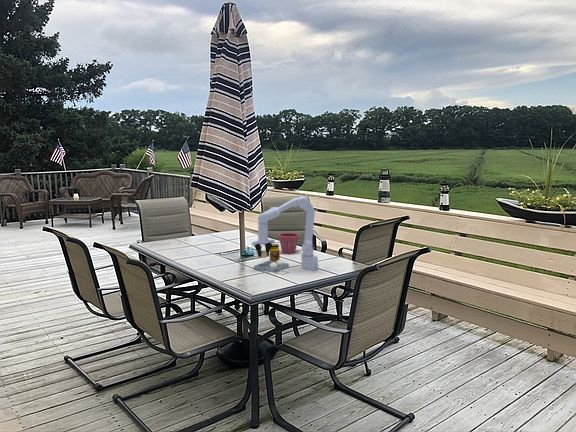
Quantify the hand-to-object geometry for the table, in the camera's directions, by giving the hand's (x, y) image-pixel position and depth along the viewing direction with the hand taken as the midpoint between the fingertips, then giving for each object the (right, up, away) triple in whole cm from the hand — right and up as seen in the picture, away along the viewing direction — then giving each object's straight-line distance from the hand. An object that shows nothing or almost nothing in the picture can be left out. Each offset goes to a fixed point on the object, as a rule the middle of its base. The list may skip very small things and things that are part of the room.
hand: (263, 256), depth 279 cm
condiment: (+6, -6, +18) cm, 20 cm away
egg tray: (+5, -8, +2) cm, 10 cm away
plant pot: (+15, -2, +47) cm, 50 cm away
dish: (+11, -10, -8) cm, 17 cm away
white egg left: (+6, -8, -2) cm, 10 cm away
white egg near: (+10, -7, +3) cm, 12 cm away
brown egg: (0, -1, 0) cm, 1 cm away
